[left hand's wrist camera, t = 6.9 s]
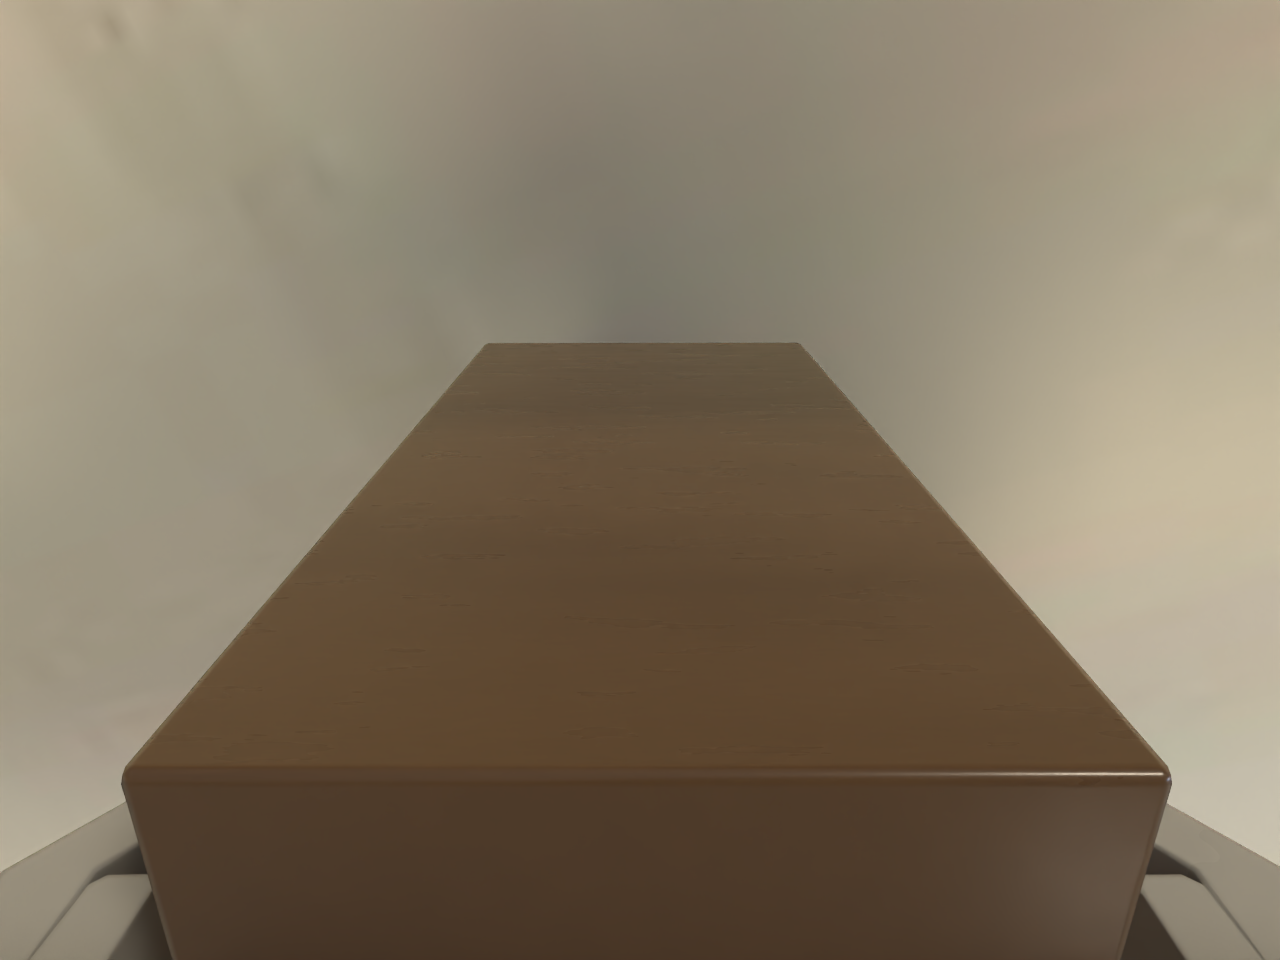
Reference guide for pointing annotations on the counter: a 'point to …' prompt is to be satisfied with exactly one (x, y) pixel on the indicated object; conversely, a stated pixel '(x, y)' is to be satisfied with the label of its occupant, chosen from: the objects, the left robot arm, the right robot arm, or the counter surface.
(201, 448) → the counter surface
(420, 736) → the box
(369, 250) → the counter surface
